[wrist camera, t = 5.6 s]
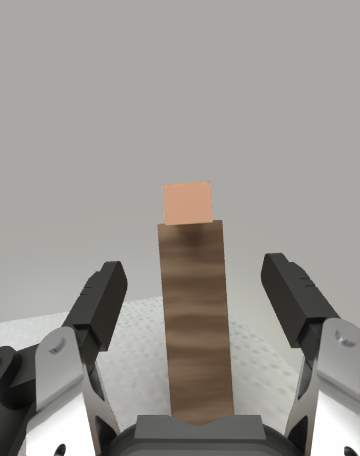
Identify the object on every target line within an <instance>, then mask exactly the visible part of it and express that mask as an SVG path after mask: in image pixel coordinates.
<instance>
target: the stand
mask: <svg viewBox="0 0 360 456" xmlns="http://www.w3.org/2000/svg"><path fill="white" fill-rule="evenodd" d="M158 239H159V251H160V252H159V253H160V266H161V280H162V293H163V307H164V320H165V334H166V347H167V361H168V374H169V387H170V401H171V414H172V417H173V418H175V419H178V420H180V421H183V422H185V423H188V424H191V425H193V426H196V427H200V426H203V425H206V424H208V423H211V422H213V421H216V420H219V419H221V418H224V417H226V416H229V415H234V409H233V392H232V375H231V359H230V342H229V326H228V309H227V293H226V277H225V260H224V243H223V227H222V220H213V222H208V223H194V224H179V225H165V224H158Z"/></svg>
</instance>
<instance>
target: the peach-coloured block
mask: <svg viewBox="0 0 360 456" xmlns="http://www.w3.org/2000/svg"><path fill="white" fill-rule="evenodd" d="M210 189H211V188H210V181H206V182H193V183H181V184H169V185H163V198H164V212H165V225H179V224H194V223H208V222H213V220H212V204H211V190H210Z"/></svg>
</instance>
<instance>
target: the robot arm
mask: <svg viewBox="0 0 360 456" xmlns="http://www.w3.org/2000/svg"><path fill="white" fill-rule="evenodd" d="M261 281H262V284H263V287H264V289H265V291H266V293H267V296H268V298H269V300H270V302H271V304H272V306H273V309H274V311H275V313H276V315H277V318H278V320H279V322H280V324H281V326H282V328H283V331H284V333H285V335H286V337H287V339H288V342H289V344H290V346H291V348H301V349H302V351H303V353H304V357H303V360H302V365H301V371H300V375H299V380H298V385H297V390H296V395H295V399H294V403H293V406H292V409H291V411H290V414H289V418H288V421H287V426H286V430H285V435H284V436H283V435H282V434H281V433H279V432H278V431H276V430H275V429H273V428H271V427H269V426H267V425H264V424H262V420H261V416H260V415H229V416H226V417H224V418H221V419H219V420H216V421H213V422H211V423H208V424H206V425H203V426H200V427H196V426H193V425H191V424H188V423H185V422H183V421H180V420H178V419H175V418H173V417H170V416H167V415H138V417H137V423H136V424H134V425H132V426H131V427H129V428H127V429H125V430H124V431H123V432H122V433H120V430H119V427H118V423H117V420H116V418H115V415H114V413H113V411H112V409H111V407H110V404H109V402H108V399H107V395H106V392H105V388H104V385H103V381H102V378H101V374H100V371H99V368H98V364H97V361H96V358H97V355H98V353H99V352H101V351H108V348H109V344H110V341H111V338H112V335H113V332H114V329H115V326H116V323H117V319H118V316H119V313H120V310H121V307H122V304H123V301H124V297H125V294H126V291H127V278H126V275H125V272H124V270H123V267H122V264H121V262H120V261H113V262H112V261H111V262H105V263H104V265H103V267H102V269H101V271H99V272H96V273H94V274H93V275H92V276H91V277H90V278H89V279H88V281H87V283H86V284H85V287H84V289H83V290H82V292H81V293H80V296H79V297H78V299H77V300H76V302H75V304H74V306H73V308H72V309H71V311H70V313H69V314H68V316H67V318H66V320H65V321H64V323H63V325H62V326H61V327H60V328H57V329H55V330H54V331H52V332H51V333H49V334H48V335H47V336H46V337H45V338H44V339H43V340H42V341H41V343H39V344H36V345H33V346H31V347H28V348H25V349H22V350H19V351H16V350H14V349H13V348H12V347H10V346H2V347H0V456H17V454H18V452H19V450H20V448H21V445H22V443H23V441H24V439H25V437H26V456H360V328H358V327H357V326H355V325H354V324H352V323H350V322H348V321H346V320H343V319H341V318H340V317H339V316H338V314H337V313H336V312H335V311H334V309H333V308H332V306H331V305H330V304H329V303H328V301H327V300H326V299H325V297H324V296H323V295H322V293H321V292H320V291H319V289H318V288H317V287H315V284H314V283H313V281H312V280H310V278H309V276H308V275H307V274H306V272H305V271H304V270H303V269H302V268H301V267H299V266H298V265H297V264H295V263H294V262H288V260H287V259H286V257H285V256H284V255H283V254H282V253H269V254H265V257H264V262H263V266H262V271H261Z"/></svg>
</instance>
